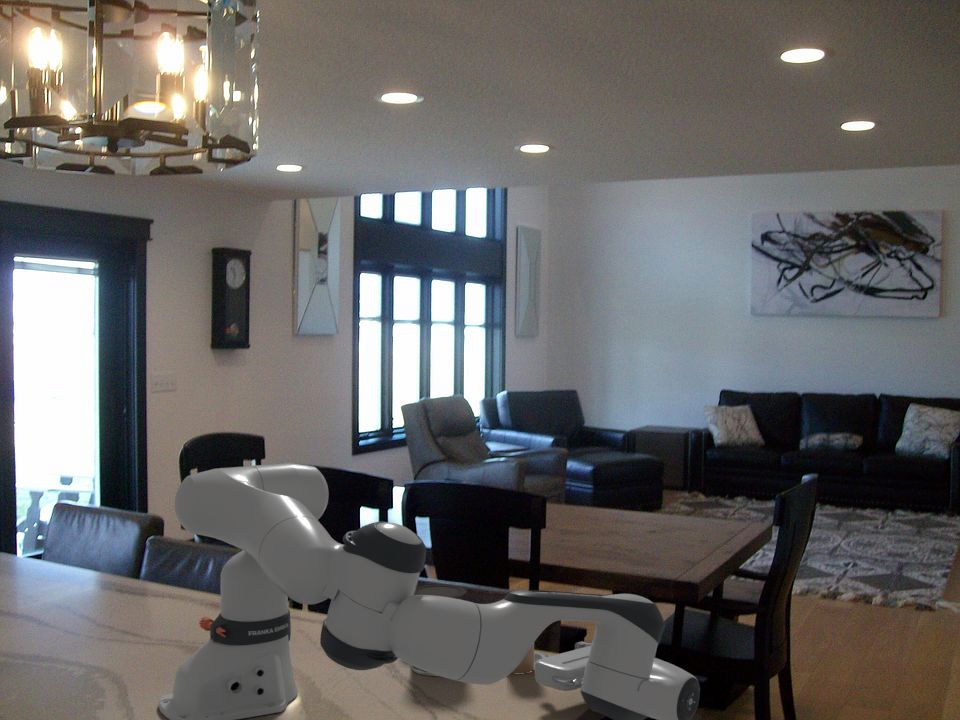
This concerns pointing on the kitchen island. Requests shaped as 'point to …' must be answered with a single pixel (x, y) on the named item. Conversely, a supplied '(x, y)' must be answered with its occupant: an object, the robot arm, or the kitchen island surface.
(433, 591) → the coffee can
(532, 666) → the tan rounded cylinder
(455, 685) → the kitchen island surface
